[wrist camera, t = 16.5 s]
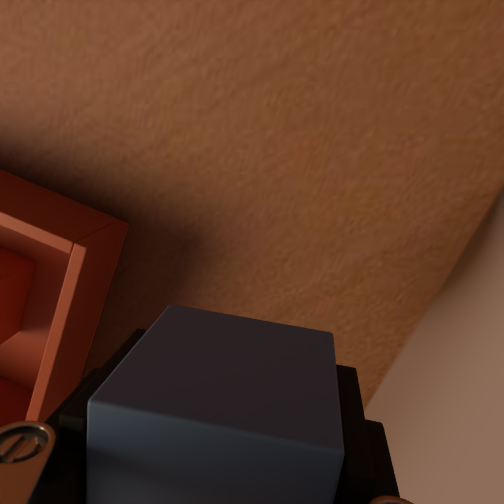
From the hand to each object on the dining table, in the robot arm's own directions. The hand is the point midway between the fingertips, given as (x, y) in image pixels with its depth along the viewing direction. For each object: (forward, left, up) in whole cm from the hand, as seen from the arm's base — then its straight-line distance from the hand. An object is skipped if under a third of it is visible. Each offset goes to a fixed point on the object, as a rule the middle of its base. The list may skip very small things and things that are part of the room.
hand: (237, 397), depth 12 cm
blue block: (0, 0, 0) cm, 0 cm away
